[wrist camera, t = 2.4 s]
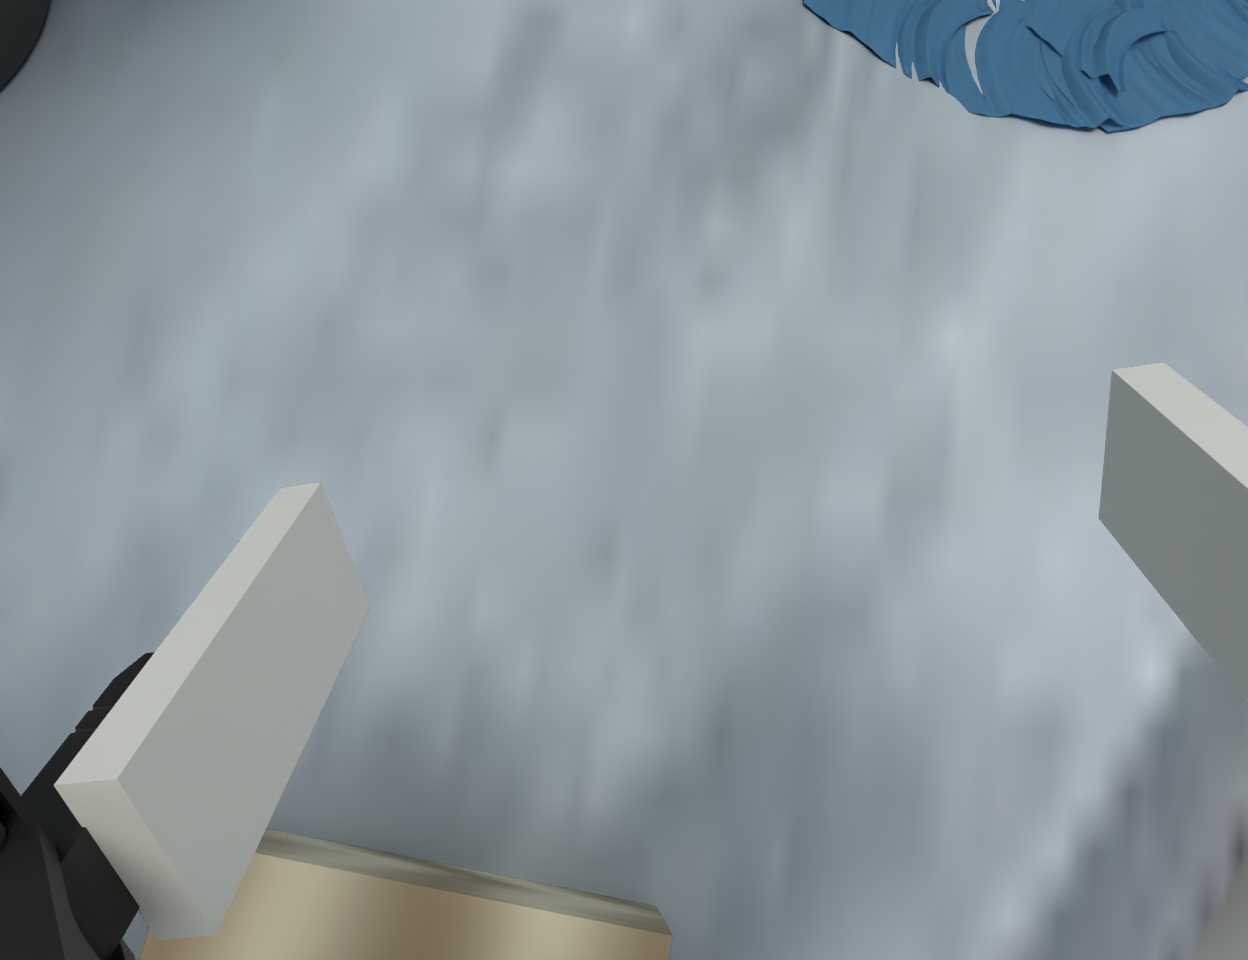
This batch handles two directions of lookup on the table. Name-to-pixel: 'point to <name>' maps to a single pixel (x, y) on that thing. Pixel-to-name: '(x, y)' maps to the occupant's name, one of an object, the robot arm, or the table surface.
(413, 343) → the table surface
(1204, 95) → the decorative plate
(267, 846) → the birch block
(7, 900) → the robot arm
